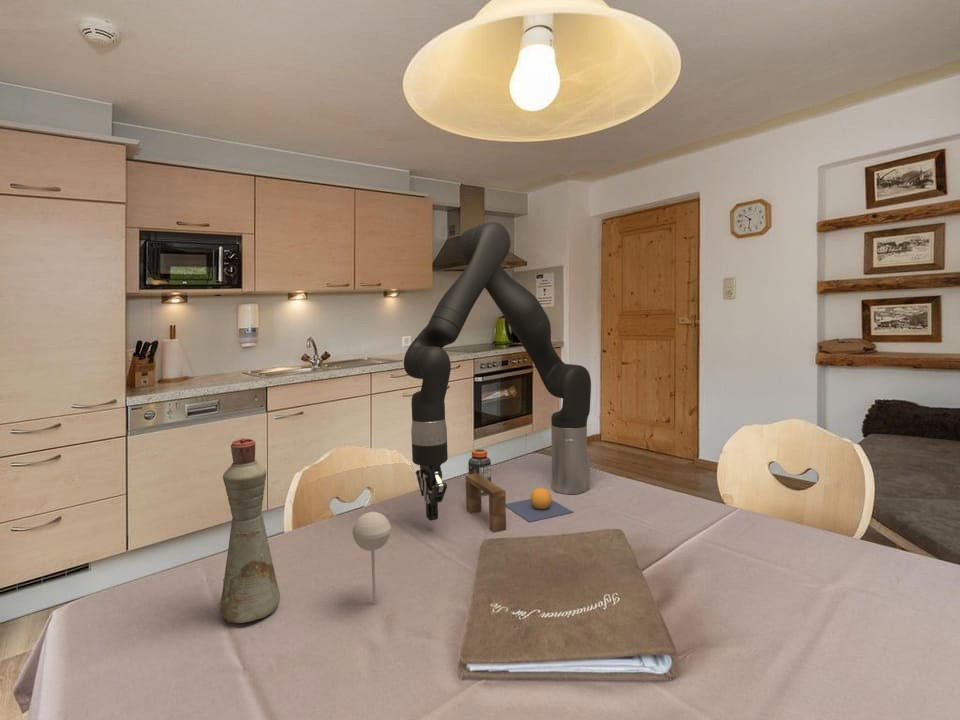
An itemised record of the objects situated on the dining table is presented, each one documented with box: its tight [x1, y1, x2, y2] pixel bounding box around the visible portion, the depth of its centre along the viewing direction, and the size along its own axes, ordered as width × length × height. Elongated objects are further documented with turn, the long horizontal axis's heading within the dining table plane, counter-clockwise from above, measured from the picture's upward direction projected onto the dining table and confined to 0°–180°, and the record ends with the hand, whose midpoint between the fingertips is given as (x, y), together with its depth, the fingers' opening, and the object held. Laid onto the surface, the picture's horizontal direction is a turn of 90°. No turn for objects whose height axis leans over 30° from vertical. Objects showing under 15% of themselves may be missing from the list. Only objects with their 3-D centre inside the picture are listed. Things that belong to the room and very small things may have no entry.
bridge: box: [465, 473, 507, 533], centre depth 115 cm, size 3×14×9 cm, turn 26°
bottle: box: [219, 437, 281, 624], centre depth 79 cm, size 9×9×28 cm
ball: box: [529, 487, 552, 509], centre depth 121 cm, size 5×5×5 cm
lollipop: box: [352, 511, 392, 605], centre depth 81 cm, size 6×6×15 cm
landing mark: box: [506, 498, 574, 523], centre depth 121 cm, size 12×12×1 cm
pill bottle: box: [467, 448, 492, 496], centre depth 133 cm, size 6×6×11 cm
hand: (432, 518), depth 109 cm, fingers closed
